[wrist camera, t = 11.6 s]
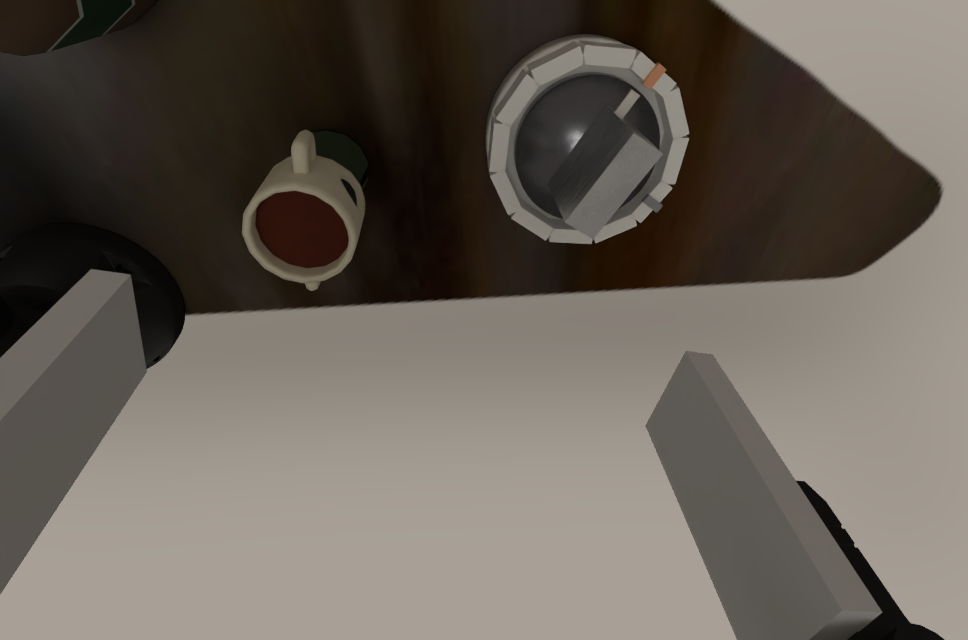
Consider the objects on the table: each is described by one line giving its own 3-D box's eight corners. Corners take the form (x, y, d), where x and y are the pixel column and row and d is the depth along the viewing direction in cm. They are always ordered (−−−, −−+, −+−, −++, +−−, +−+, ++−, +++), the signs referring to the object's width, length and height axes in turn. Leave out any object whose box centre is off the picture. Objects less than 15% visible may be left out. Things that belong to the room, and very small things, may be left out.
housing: (449, 159, 46) (451, 183, 41) (565, -13, 39) (582, -7, 35) (583, 247, 51) (597, 276, 47) (704, 110, 45) (733, 129, 41)
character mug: (375, 228, 49) (359, 309, 38) (293, 223, 48) (253, 305, 37) (373, 100, 43) (353, 156, 32) (279, 92, 42) (226, 147, 31)
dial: (592, 235, 47) (619, 287, 40) (486, 170, 43) (496, 215, 36) (682, 124, 42) (731, 162, 35) (572, 39, 38) (602, 63, 31)
